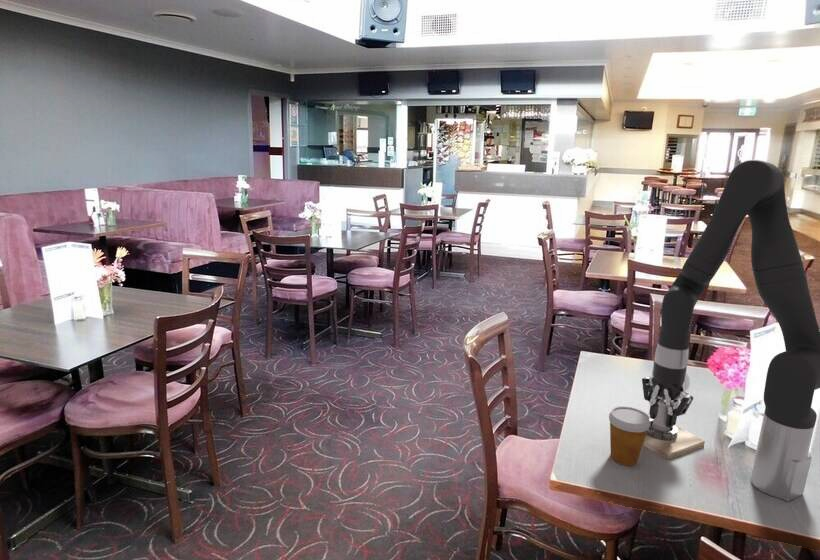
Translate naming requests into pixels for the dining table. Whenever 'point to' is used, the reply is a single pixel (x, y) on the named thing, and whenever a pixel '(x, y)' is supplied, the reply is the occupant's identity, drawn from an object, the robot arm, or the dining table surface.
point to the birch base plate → (674, 444)
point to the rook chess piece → (661, 417)
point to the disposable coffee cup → (627, 434)
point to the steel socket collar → (662, 433)
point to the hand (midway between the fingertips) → (661, 421)
